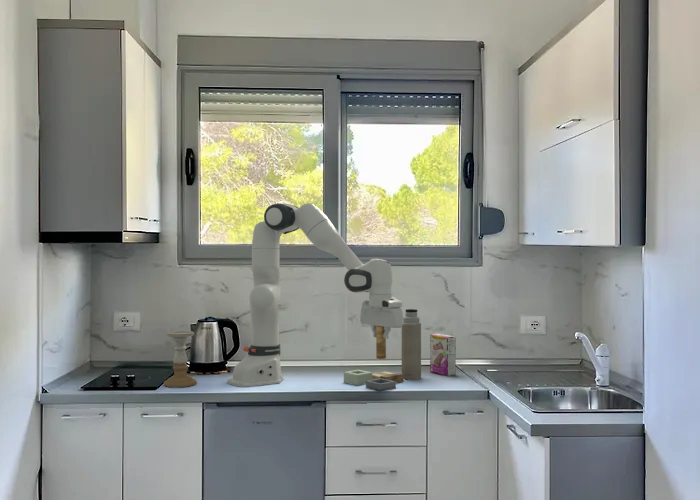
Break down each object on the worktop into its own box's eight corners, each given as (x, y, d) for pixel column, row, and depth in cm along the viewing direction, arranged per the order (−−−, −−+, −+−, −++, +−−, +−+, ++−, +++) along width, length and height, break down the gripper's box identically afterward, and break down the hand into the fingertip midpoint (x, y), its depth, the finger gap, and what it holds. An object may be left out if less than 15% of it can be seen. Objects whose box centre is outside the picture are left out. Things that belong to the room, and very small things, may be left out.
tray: (380, 391, 229) (380, 384, 229) (365, 387, 235) (365, 380, 235) (395, 388, 234) (395, 381, 234) (381, 384, 240) (381, 378, 240)
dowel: (380, 359, 232) (380, 327, 232) (374, 358, 235) (374, 326, 235) (387, 358, 234) (387, 326, 234) (381, 357, 237) (381, 325, 237)
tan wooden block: (380, 384, 242) (380, 376, 242) (368, 381, 248) (368, 374, 248) (397, 381, 248) (397, 374, 248) (385, 378, 253) (385, 371, 253)
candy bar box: (429, 372, 265) (429, 334, 265) (438, 371, 268) (438, 333, 268) (447, 376, 256) (447, 336, 256) (456, 375, 259) (456, 336, 259)
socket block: (357, 385, 238) (357, 375, 238) (343, 382, 245) (343, 372, 245) (372, 382, 244) (372, 372, 244) (358, 379, 250) (358, 369, 250)
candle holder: (203, 383, 243) (203, 331, 243) (182, 389, 232) (182, 335, 232) (178, 380, 248) (178, 330, 248) (156, 386, 237) (156, 333, 237)
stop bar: (385, 384, 239) (385, 377, 239) (380, 383, 242) (380, 376, 242) (403, 381, 246) (403, 373, 246) (398, 380, 248) (398, 372, 248)
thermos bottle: (397, 378, 253) (397, 309, 253) (407, 374, 259) (407, 308, 260) (415, 380, 248) (415, 310, 248) (424, 377, 255) (424, 309, 255)
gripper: (356, 300, 240) (356, 336, 240) (393, 303, 225) (393, 341, 225) (368, 299, 244) (368, 334, 244) (405, 302, 229) (405, 339, 229)
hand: (380, 338), depth 234 cm, fingers closed on dowel, 4 cm apart
